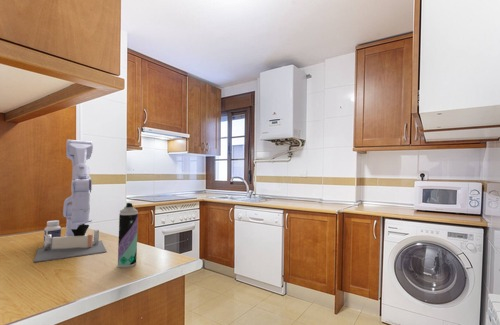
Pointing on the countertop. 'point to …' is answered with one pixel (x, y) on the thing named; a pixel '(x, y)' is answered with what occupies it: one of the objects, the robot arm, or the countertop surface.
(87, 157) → the robot arm
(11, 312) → the countertop surface
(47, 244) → the posts
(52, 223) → the pill bottle
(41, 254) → the mat
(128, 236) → the spray can
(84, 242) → the gate
